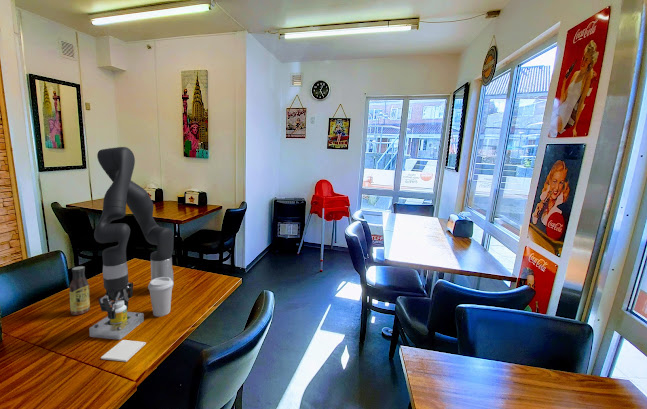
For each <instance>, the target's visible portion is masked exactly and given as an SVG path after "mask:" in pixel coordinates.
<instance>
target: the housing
mask: <svg viewBox="0 0 647 409" xmlns="http://www.w3.org/2000/svg"><path fill="white" fill-rule="evenodd" d="M144 317H145V314H144V313H143V312H134V311H133V312H132V311H127V320H126V321H125V322H123V323H122V324H121V325H119V326H115V325H111V324H110V319H109V318H108V315H107V316H106V317H104V318H102V319H101V320H99V321H98V322H97V323H94V324H93V325H92V326H90V327H89V330H88V331H89V337H90V338H98V339H109V340H118V341H120V340H121V341H122V340H123V339H124V337H126V336H127V335H128V334H129V333H131V332H132V331H133V330H134V329H135V328H137V327H139V325H141V324H142V323H143V322H144V321H145V320H144V319H145V318H144Z"/></svg>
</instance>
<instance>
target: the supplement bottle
mask: <svg viewBox="0 0 647 409" xmlns="http://www.w3.org/2000/svg"><path fill="white" fill-rule="evenodd" d="M110 307H112V304H111V305H110ZM114 310H115V316H116V318H115V319H110V324H111V325H115V326H119V325H121V324H122V323H123V322H125V321H126V320H127V312H128V310H127V307H126V305H124V300H120V299H118V302H117V304H116V305H115V309H114Z"/></svg>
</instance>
